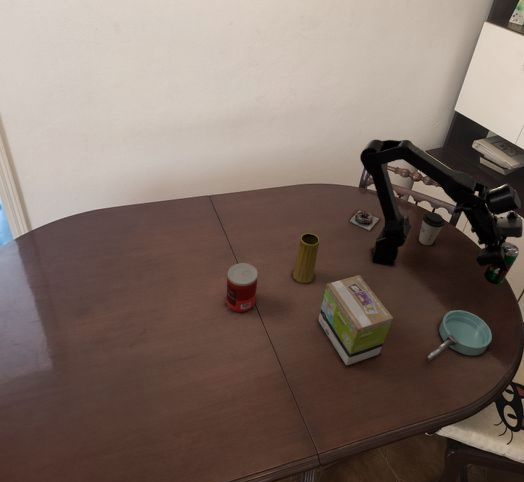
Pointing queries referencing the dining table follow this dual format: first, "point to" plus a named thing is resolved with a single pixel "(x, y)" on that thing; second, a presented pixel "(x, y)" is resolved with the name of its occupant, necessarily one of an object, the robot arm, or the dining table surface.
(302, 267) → the vase
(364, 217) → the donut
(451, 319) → the pan
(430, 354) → the pan handle
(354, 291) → the tea box
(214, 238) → the dining table surface
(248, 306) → the canned food
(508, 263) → the soda can
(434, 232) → the coffee cup
